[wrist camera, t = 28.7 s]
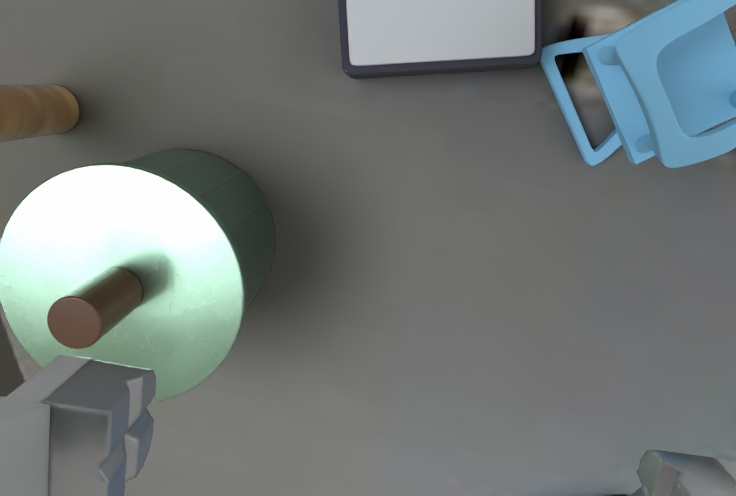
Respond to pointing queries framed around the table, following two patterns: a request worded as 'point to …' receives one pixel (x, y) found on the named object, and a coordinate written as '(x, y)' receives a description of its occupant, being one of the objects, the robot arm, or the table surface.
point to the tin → (225, 205)
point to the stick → (36, 111)
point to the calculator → (438, 36)
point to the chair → (659, 84)
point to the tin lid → (123, 275)
